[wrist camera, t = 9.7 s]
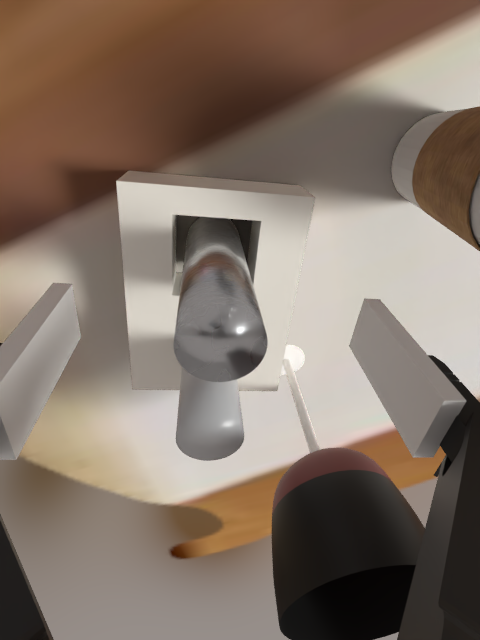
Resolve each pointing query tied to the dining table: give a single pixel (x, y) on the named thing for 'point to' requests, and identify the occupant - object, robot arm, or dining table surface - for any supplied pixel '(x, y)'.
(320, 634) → the wineglass
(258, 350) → the pipe
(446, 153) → the coffee cup
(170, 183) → the socket block
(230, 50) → the dining table surface
